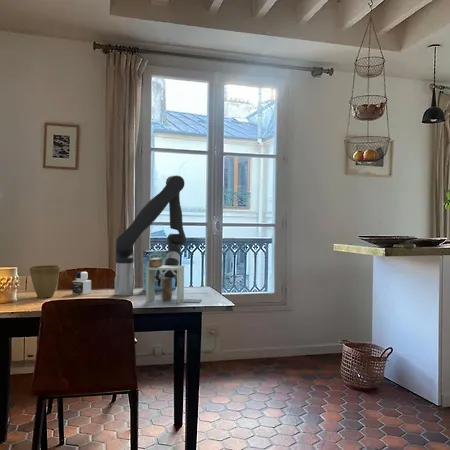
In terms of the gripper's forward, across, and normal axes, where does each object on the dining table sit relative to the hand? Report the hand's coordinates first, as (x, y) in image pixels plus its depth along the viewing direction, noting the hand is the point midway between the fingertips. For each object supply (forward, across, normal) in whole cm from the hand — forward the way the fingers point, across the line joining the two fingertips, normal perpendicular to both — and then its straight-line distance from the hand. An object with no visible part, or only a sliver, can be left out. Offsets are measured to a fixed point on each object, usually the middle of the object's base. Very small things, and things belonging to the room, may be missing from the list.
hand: (167, 286), depth 235 cm
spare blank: (-4, -5, -10) cm, 12 cm away
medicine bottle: (-3, -50, +12) cm, 52 cm away
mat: (+9, +14, +1) cm, 16 cm away
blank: (+5, 0, +4) cm, 7 cm away
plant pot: (+7, -64, +2) cm, 65 cm away
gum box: (-18, -12, +28) cm, 35 cm away
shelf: (+8, 0, +2) cm, 8 cm away
